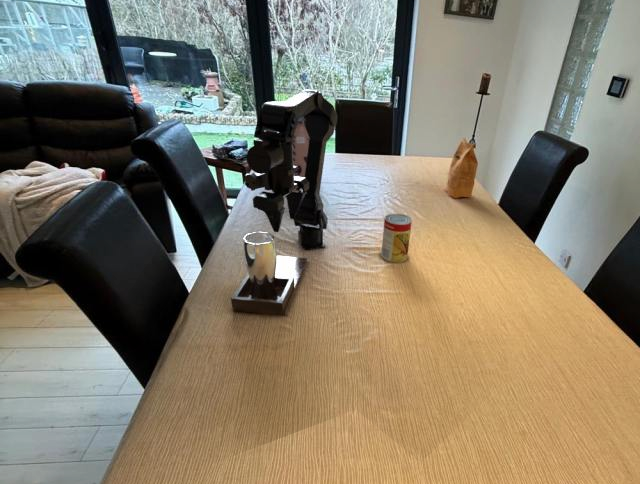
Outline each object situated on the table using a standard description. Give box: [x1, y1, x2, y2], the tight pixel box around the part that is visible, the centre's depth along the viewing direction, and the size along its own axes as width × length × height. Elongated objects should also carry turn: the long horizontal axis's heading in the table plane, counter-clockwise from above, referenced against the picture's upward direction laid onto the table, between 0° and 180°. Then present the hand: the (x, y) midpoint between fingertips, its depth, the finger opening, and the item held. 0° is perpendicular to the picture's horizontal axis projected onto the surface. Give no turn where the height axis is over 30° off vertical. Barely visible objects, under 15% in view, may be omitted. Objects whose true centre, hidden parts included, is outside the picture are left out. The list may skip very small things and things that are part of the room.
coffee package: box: [445, 137, 479, 199], centre depth 173 cm, size 10×12×22 cm
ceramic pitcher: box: [264, 117, 309, 177], centre depth 169 cm, size 18×21×25 cm
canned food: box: [380, 213, 413, 263], centre depth 121 cm, size 8×8×12 cm
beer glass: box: [242, 231, 278, 300], centre depth 94 cm, size 7×7×15 cm
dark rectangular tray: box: [230, 255, 308, 316], centre depth 104 cm, size 27×12×4 cm, turn 178°
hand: (284, 225), depth 106 cm, fingers open, 9 cm apart
